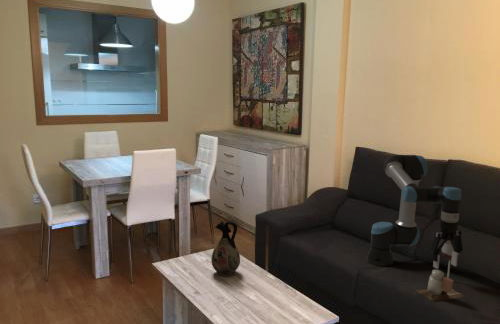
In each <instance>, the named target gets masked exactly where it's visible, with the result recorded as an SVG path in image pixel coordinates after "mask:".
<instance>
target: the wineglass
mask: <svg viewBox="0 0 500 324" xmlns="http://www.w3.org/2000/svg"><path fill="white" fill-rule="evenodd" d="M452 251H454V249H453V247H452V244H451V242H450V240H449V241H447V242H446V243H444V245H443V247H442V249H441V254H442V256H443V257H444V258H445V259H447V260H448V266H447V274H446V275H447V276H446V277H447V278H450V269H451V259H452ZM460 254H461V253H459V255H460Z"/></svg>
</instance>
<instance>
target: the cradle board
mask: <svg viewBox="0 0 500 324" xmlns="http://www.w3.org/2000/svg"><path fill="white" fill-rule="evenodd" d="M427 288H428V287H426V288H417V289H414V291H415V292H417V293H418V294H420V295H421V296H423V297H424V298H427V299H428V300H430V301H431V302H433V303H436V302H442V301H448V300H453V299H458V298H459V299H460V298H465V297H467V296H466V295H465V294H462V293H460V292H459V291H457V290H455V289H454V288H452V291H450V292H448V291H446V290H444V289H443V290H442V295H440V296H434V297H433V294H431V293H429V292H428V291H427Z"/></svg>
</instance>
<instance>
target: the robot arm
mask: <svg viewBox="0 0 500 324" xmlns="http://www.w3.org/2000/svg"><path fill="white" fill-rule="evenodd" d="M383 171H384V173H385V175H386V176H387V177H388V178H391V179H392V180H393V182H395V184H396V186H397V187H398V188H399V189H400V190H401V196H400V202H399V212H398V219H397V220H396V221H395V223H394V225H393V223H392V222H389V221H378V222H375V223H373V224H372V226H371V231H370V234H371V235H370V247H369V250H368V253H367V254H366V261H367V262H368V263H370V264H371V265H373V266H374V265H375V266H379V267H387V266H388V267H389V266H392V265H393V264H394V258H393V254H392V253H393V252H392V246H406V247H410V246H411V247H412V246H415V245H417V243H418V242H419V240H420V235H421V233H420V228H419V226H417V223H416V222H415V219H416V218H415V217H416V208H417V203H420V204H421V203H422V204H423V203H424V204H439V205H441V212H440V222H439V228H440V231H439V232H437V231H434V237H433V241H432V243H431V246H430V249H429V253H431V254H432V261H433V263H432V267H433V268H434V269H436V270H440V269H439V267H440V259H441V256H440V252H442V247H443V245H444V243H446V242H447V241H449V240H450V242H451V244H452V247H453V249H454V251H452V259H451V262H450V266H454V267H458V259H459V257H460V254H461V253H462V251H464V248H463V247H464V246H463V240H462V231H460V230H458V228H459V221H460V220H459V219H460V209H461V203H462V189H461V188H459V187H455V186H445V187H443V186H438V185H437V186H433V187H426V186H425V187H424V186H419V184H420V181H422V180H423V177H425V176H426V175H427V173H428V164H427V160H426V158H425V157H424V156H423V155H417V154H393V155H391V156H389V157H388V158H386V160H385V161H384V164H383ZM459 253H460V254H459Z"/></svg>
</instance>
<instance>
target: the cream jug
mask: <svg viewBox="0 0 500 324" xmlns="http://www.w3.org/2000/svg"><path fill="white" fill-rule="evenodd" d="M444 275H445V273H444V272H443V270H440V269H432V271H431V274H430V275H429V278H428V283H427V287H426V288H427V291H428V292H429V293H431V294H433V297H434V296H440V295H442V290H443V289H444V290H446V291H448V292H450V291H452V289H453V286H454V285H453V284H454V282H455V281H454V279H452V278H450V277H449V278H447V276H444Z"/></svg>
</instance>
